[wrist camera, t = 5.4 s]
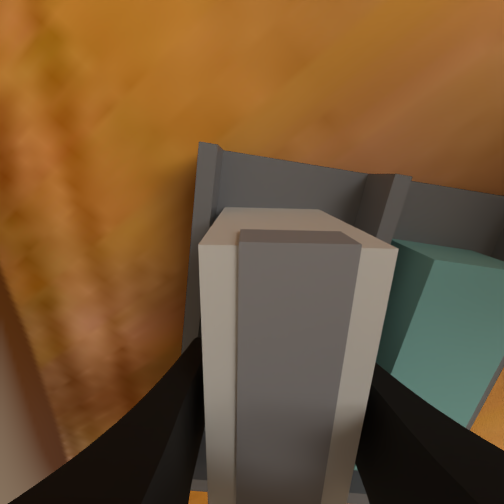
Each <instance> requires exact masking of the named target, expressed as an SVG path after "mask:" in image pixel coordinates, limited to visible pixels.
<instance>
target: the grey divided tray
mask: <svg viewBox="0 0 504 504" xmlns="http://www.w3.org/2000/svg"><path fill="white" fill-rule="evenodd" d="M411 180H412V177H411V176H405V175H399V174H365V173H359V172H353V171H347V170H341V169H335V168H329V167H322V166H316V165H310V164H304V163H298V162H292V161H286V160H280V159H274V158H267V157H261V156H255V155H249V154H243V153H237V152H231V151H225V150H223V149H222V148H221V147H220V146H219V145H217V144H211V143H205V142H199V148H198V160H197V172H196V184H195V196H194V208H193V220H192V232H191V244H190V256H189V268H188V280H187V292H186V304H185V316H184V328H183V340H182V352H181V355H182V354H183V352H184V351H185V350H186V349H187V347H188V346H189V345H190V343H191V342H192V341H193V339H195V338H196V337H202V331H201V305H200V279H199V253H198V244H199V243H200V241H201V240H202V239H203V237H204V236H205V234H206V233H207V232H208V230H209V229H210V227H211V226H212V225H213V223H214V222H215V220H216V219H217V218H218V216H219V215H220V213H221V212H222V211H223V209H224V208H225V207H243V208H285V209H319V210H321V211H323V212H325V213H327V214H329V215H331V216H333V217H335V218H337V219H339V220H341V221H343V222H345V223H347V224H349V225H351V226H353V227H355V228H358V229H360V230H362V231H364V232H366V233H368V234H370V235H372V236H374V237H376V238H378V239H380V240H382V241H384V242H386V243H388V244H390V245H391V241H392V239H398V240H405V241H411V242H418V243H425V244H432V245H438V246H445V247H452V248H459V249H465V250H472V251H475V252H478V253H481V254H483V255H486V256H489V257H492V258H495V259H498V260H501V261H504V196H500V195H494V194H488V193H482V192H476V191H469V190H463V189H457V188H451V187H445V186H439V185H433V184H427V183H420V182H414V181H411ZM503 367H504V356H503V358H502V360H501V362H500V364H499V366H498V368H497V370H496V371H495V373H494V375H493V377H492V379H491V381H490V383H489V385H488V387H487V388H486V390H485V392H484V394H483V396H482V398H481V400H480V402H479V404H478V405H477V407H476V409H475V411H474V413H473V415H472V417H471V419H470V420H469V422H468V424H467V426H466V428H467V429H468V430H470V429H471V427H472V425H473V423H474V421H475V419H476V417H477V416H478V414H479V412H480V410H481V408H482V406H483V404H484V403H485V401H486V399H487V397H488V395H489V393H490V391H491V390H492V388H493V386H494V384H495V382H496V380H497V378H498V377H499V375H500V373H501V371H502V369H503ZM190 490H192V491H204V492H208V486H207V460H206V434H205V428H204V432H203V436H202V441H201V445H200V449H199V453H198V458H197V462H196V466H195V471H194V475H193V479H192V484H191V489H190ZM347 504H369V500H368V497H367V494H366V491H365V488H364V486H363V483H362V480H361V477H360V475H359V472H358V470H353V475H352V480H351V484H350V489H349V494H348V499H347Z"/></svg>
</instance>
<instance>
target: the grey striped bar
mask: <svg viewBox="0 0 504 504" xmlns="http://www.w3.org/2000/svg"><path fill="white" fill-rule="evenodd" d="M398 250H399V249H398V248H396V247H394V246H392V245H390V244H388V243H386V242H384V241H382V240H380V239H378V238H376V237H374V236H372V235H370V234H368V233H366V232H364V231H362V230H360V229H358V228H355V227H353V226H351V225H349V224H347V223H345V222H343V221H341V220H339V219H337V218H335V217H333V216H331V215H329V214H327V213H325V212H323V211H321V210H319V209H285V208H243V207H225V208H224V209H223V211H222V212H221V213H220V215H219V216H218V218H217V219H216V220H215V222H214V223H213V225H212V226H211V227H210V229H209V230H208V232H207V233H206V234H205V236H204V237H203V239H202V240H201V241H200V243H199V244H198V253H199V279H200V305H201V331H202V357H203V382H204V408H205V434H206V460H207V486H208V504H347V499H348V494H349V489H350V484H351V480H352V475H353V470H354V465H355V460H356V455H357V450H358V445H359V440H360V436H361V431H362V426H363V421H364V416H365V411H366V406H367V401H368V397H369V392H370V387H371V382H372V377H373V372H374V367H375V362H376V357H377V353H378V348H379V343H380V338H381V333H382V328H383V323H384V318H385V314H386V309H387V304H388V299H389V294H390V289H391V284H392V279H393V274H394V270H395V265H396V260H397V255H398Z"/></svg>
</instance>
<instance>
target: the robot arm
mask: <svg viewBox="0 0 504 504" xmlns="http://www.w3.org/2000/svg"><path fill="white" fill-rule="evenodd" d="M204 428H205V408H204V382H203V357H202V337H196V338H195V339H193V341H192V342H191V343H190V345H189V346H188V347H187V349H186V350H185V351H184V352H183V354H182V355H181V356H180V357H179V359H178V360H177V361H176V362H175V364H174V365H173V366H172V367H171V368H170V369H169V370H168V372H167V373H166V374H165V375H164V376H163V377H162V378H161V380H160V381H159V382H158V383H157V384H156V385H155V386H154V387H153V388H152V389H151V390H150V391H149V392H148V393H147V394H146V395H145V396H144V397H143V398H142V399H141V400H140V401H139V402H138V403H137V404H136V405H135V406H134V407H133V408H132V409H131V410H130V411H129V412H128V413H127V414H126V415H124V416H123V417H122V418H121V419H120V420H119V421H118V422H117V423H116V424H114V425H113V426H112V427H111V428H110V429H108V430H107V431H106V432H105V433H104V434H102V435H101V436H100V437H99V438H98V439H96V440H95V441H94V442H93V443H92V444H90V445H89V446H88V447H87V448H85V449H84V450H83V451H82V452H80V453H79V454H78V455H76V456H75V457H74V458H72V459H71V460H70V461H68V462H67V463H66V464H64V465H63V466H62V467H60V468H59V469H58V470H56V471H55V472H53V473H52V474H50V475H49V476H48V477H46V478H45V479H43V480H42V481H41V482H39V483H38V484H36V485H35V486H33V487H32V488H31V489H29V490H28V491H26V492H25V493H23V494H22V495H20V496H19V497H17V498H16V499H14V500H13V501H11V502H10V503H8V504H188V501H189V494H190V489H191V484H192V479H193V475H194V471H195V466H196V462H197V458H198V453H199V449H200V445H201V441H202V436H203V432H204ZM355 464H356V467H357V470H358V472H359V475H360V477H361V480H362V483H363V486H364V488H365V491H366V494H367V497H368V500H369V504H504V451H503V450H502V449H500V448H498V447H497V446H495V445H493V444H491V443H490V442H488V441H486V440H485V439H483V438H481V437H480V436H478V435H476V434H475V433H473V432H471V431H470V430H468V429H467V428H465V427H463V426H462V425H460V424H459V423H457V422H456V421H454V420H453V419H451V418H450V417H448V416H447V415H445V414H444V413H442V412H441V411H439V410H438V409H436V408H435V407H433V406H432V405H430V404H429V403H428V402H426V401H425V400H423V399H422V398H421V397H419V396H418V395H417V394H415V393H414V392H413V391H411V390H410V389H409V388H407V387H406V386H405V385H403V384H402V383H401V382H399V381H398V380H397V379H396V378H394V377H393V376H392V375H391V374H389V373H388V372H387V371H386V370H384V369H383V368H382V367H381V366H380V365H378V364H377V363H376V362H375V367H374V372H373V377H372V382H371V387H370V392H369V397H368V401H367V406H366V411H365V416H364V421H363V426H362V431H361V436H360V440H359V445H358V450H357V455H356V460H355Z"/></svg>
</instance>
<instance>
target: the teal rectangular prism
mask: <svg viewBox="0 0 504 504" xmlns="http://www.w3.org/2000/svg"><path fill="white" fill-rule="evenodd" d="M391 245H392V246H394V247H396V248H398V249H399V250H398V255H397V260H396V265H395V270H394V274H393V279H392V284H391V289H390V294H389V299H388V304H387V309H386V314H385V318H384V323H383V328H382V333H381V338H380V343H379V348H378V353H377V357H376V363H377V364H378V365H380V366H381V367H382V368H383V369H384V370H386V371H387V372H388V373H389V374H391V375H392V376H393V377H394V378H396V379H397V380H398V381H399V382H401V383H402V384H403V385H405V386H406V387H407V388H409V389H410V390H411V391H413V392H414V393H415V394H417V395H418V396H419V397H421V398H422V399H423V400H425V401H426V402H428V403H429V404H430V405H432V406H433V407H435V408H436V409H438V410H439V411H441V412H442V413H444V414H445V415H447V416H448V417H450V418H451V419H453V420H454V421H456V422H457V423H459V424H460V425H462V426H463V427H465V428H466V426H467V424H468V422H469V420H470V419H471V417H472V415H473V413H474V411H475V409H476V407H477V405H478V404H479V402H480V400H481V398H482V396H483V394H484V392H485V390H486V388H487V387H488V385H489V383H490V381H491V379H492V377H493V375H494V373H495V371H496V370H497V368H498V366H499V364H500V362H501V360H502V358H503V356H504V261H501V260H498V259H495V258H492V257H489V256H486V255H483V254H481V253H478V252H475V251H472V250H465V249H459V248H452V247H445V246H438V245H432V244H425V243H418V242H411V241H405V240H398V239H392V241H391ZM354 470H357V467H356V464H355V465H354Z"/></svg>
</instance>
